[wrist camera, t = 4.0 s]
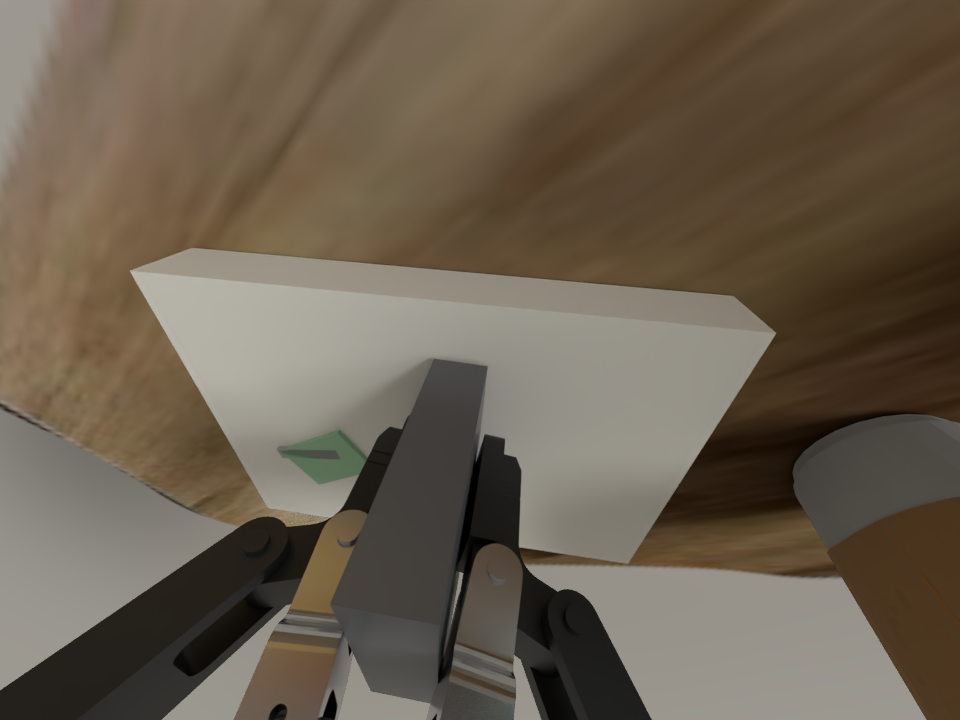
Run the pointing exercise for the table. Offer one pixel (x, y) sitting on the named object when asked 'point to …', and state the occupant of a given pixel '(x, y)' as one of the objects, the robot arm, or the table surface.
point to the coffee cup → (896, 540)
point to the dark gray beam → (415, 539)
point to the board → (467, 339)
